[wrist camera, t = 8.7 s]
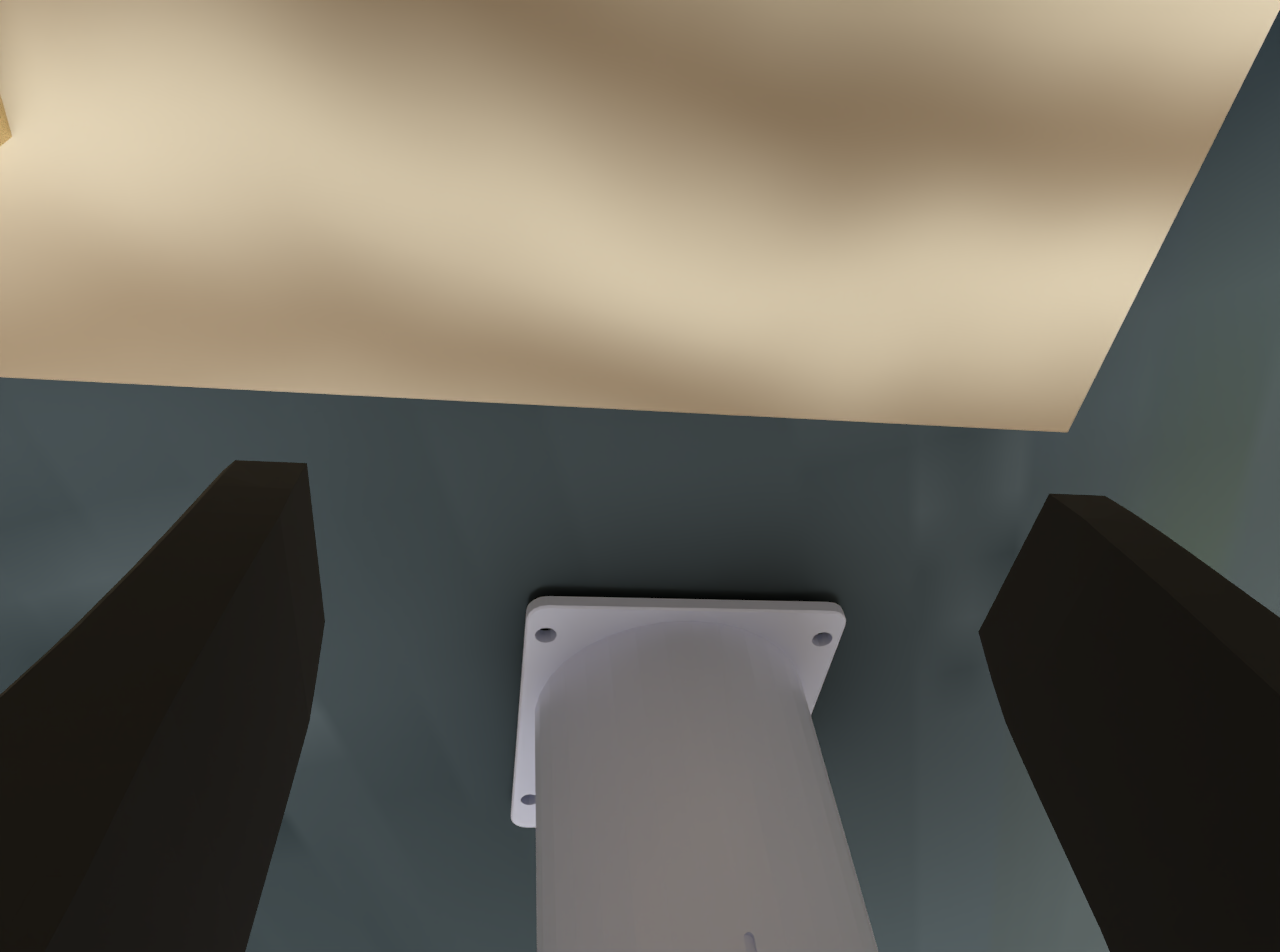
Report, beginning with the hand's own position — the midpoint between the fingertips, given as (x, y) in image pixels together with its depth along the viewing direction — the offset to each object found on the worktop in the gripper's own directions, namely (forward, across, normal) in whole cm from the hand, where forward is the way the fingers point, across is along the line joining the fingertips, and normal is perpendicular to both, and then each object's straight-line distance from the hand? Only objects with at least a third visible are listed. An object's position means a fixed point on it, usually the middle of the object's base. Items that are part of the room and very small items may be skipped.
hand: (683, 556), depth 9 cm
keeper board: (+9, +4, -3) cm, 11 cm away
